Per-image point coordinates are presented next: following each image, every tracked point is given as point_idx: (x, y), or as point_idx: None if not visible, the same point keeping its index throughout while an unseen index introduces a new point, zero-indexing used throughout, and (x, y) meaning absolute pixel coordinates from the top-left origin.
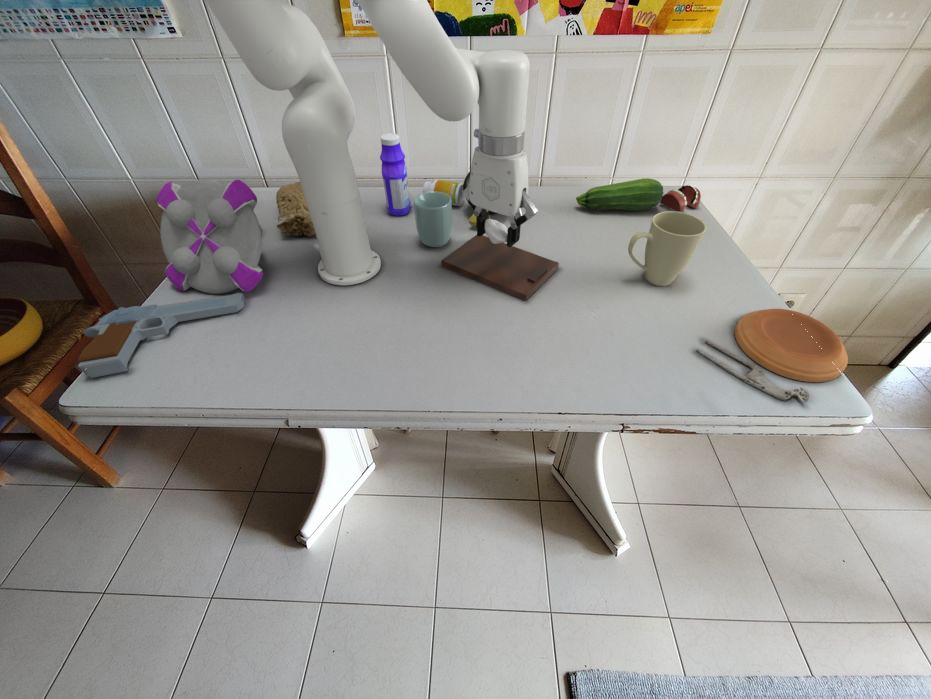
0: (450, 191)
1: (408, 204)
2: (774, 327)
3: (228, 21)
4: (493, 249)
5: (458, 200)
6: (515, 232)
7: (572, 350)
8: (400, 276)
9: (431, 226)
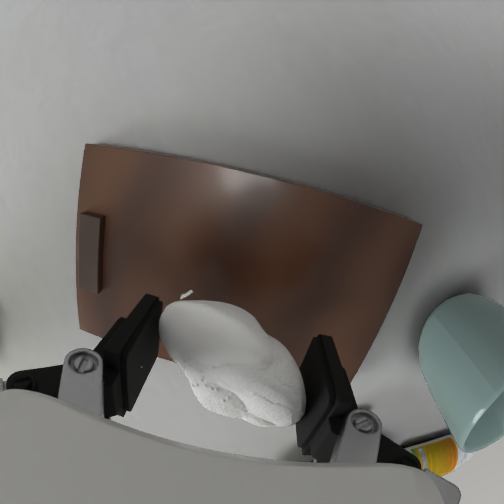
0: (427, 465)
1: None
2: None
3: None
4: None
5: None
6: (100, 345)
7: (8, 63)
8: (484, 137)
9: (494, 323)
